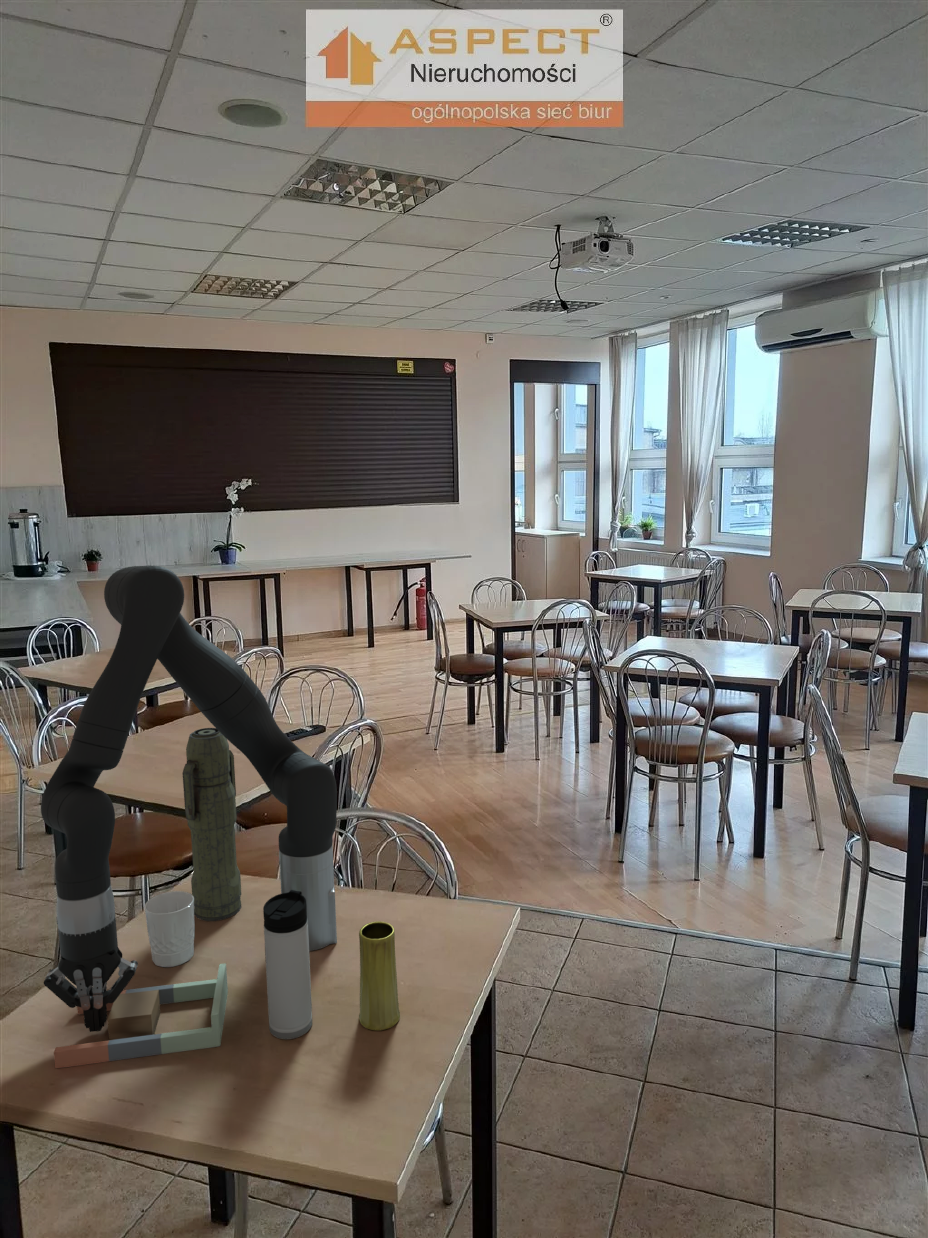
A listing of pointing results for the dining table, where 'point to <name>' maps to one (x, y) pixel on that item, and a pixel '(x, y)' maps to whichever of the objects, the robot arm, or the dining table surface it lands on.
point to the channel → (157, 1042)
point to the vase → (378, 976)
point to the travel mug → (287, 965)
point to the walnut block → (134, 1015)
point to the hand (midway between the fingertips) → (96, 1028)
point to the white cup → (171, 927)
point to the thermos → (212, 824)
